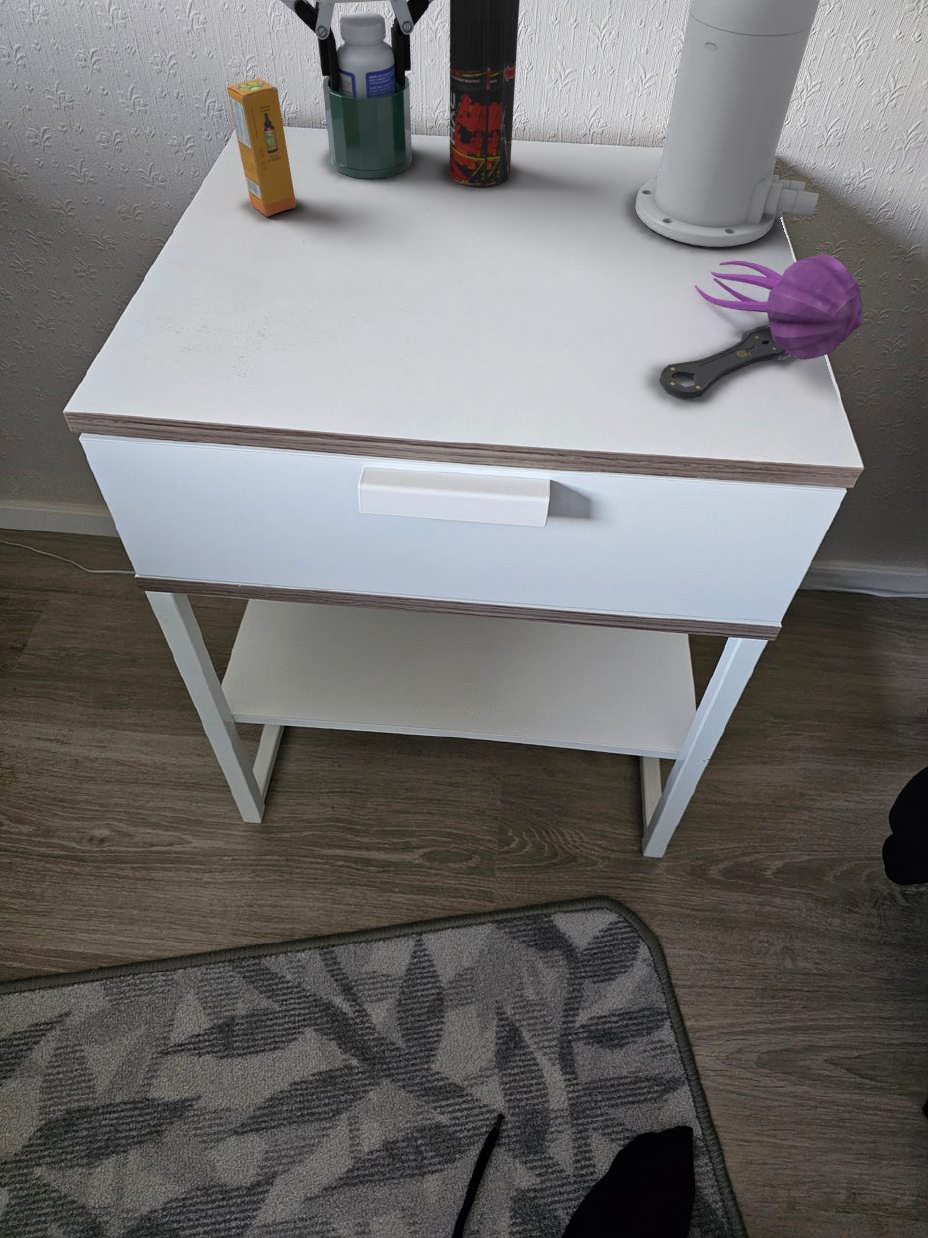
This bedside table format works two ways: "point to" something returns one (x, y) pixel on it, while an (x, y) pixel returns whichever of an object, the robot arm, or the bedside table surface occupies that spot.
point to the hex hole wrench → (722, 363)
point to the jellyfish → (802, 303)
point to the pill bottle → (365, 56)
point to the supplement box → (262, 145)
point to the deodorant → (482, 89)
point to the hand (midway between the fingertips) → (366, 79)
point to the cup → (369, 132)
